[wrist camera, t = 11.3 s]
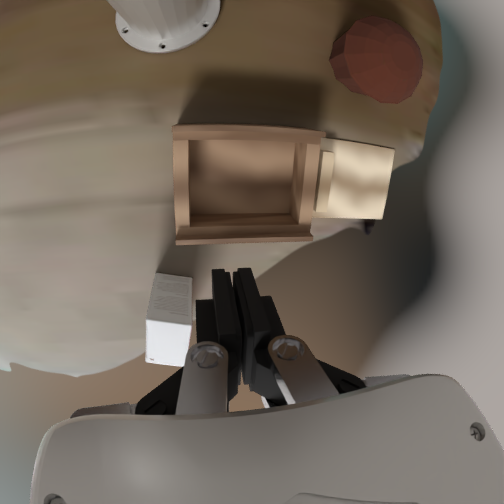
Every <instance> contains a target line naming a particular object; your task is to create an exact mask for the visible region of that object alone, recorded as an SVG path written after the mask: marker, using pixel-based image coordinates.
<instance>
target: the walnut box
mask: <svg viewBox="0 0 504 504" xmlns="http://www.w3.org/2000/svg"><path fill="white" fill-rule="evenodd" d="M172 132H173V179H174V206H175V225H176V240H175V241H176V245H197V244H228V243H261V242H298V241H313V236H312V234H311V233H310V228H311V221H312V213H313V206H314V198H315V190H316V181H317V173H318V164H319V154H320V144H321V137H326V132H323V131H318V130H313V129H308V128H299V127H288V126H275V125H258V124H228V123H201V124H176V125H174V126H172Z"/></svg>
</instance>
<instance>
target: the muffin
mask: <svg viewBox="0 0 504 504" xmlns="http://www.w3.org/2000/svg"><path fill="white" fill-rule="evenodd" d="M329 61H330V63H331V65H332V68H333V70H334V73H335V77H336V79H337V80H338V81H340V82H341V83H343V84H344V85H345V86H346V87H347V88H348V89H349V90H350V91H351V92H356V93H360V94H364V95H368V96H370V97H372V98H374V99H376V100H377V101H379V102H380V103H395V104H398V103H400V102H401V101H403V100H405V99H407V98H409V97H410V96H411V95H412V94H413V92H414V90H415V89H416V87H417V85H418V83H419V81H420V79H421V76H422V68H423V59H422V55H421V51H420V48H419V46H418V44H417V43H416V41H415V40H414V38H413V37H412V35H411V34H410V33H409V32H408V31H407V30H405V29H404V28H403V27H401V26H400V25H398V24H397V23H396V22H393V21H391V20H389V19H386V18H381V17H377V16H369V17H366V18H362V19H359V20H356V22H355V23H354V24H353V26H352V27H351V28H350V29H349V30H348V31H347V32H346V33H345V34H344V35H342V36H341V37H340V38H339V39H338V40H337V41H335V42H334V43H333V49H332V53H331V56H330V59H329Z"/></svg>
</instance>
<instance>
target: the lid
mask: <svg viewBox="0 0 504 504" xmlns="http://www.w3.org/2000/svg"><path fill="white" fill-rule="evenodd" d="M394 151H395V150H394V149H389V148H384V147H379V146H373V145H368V144H362V143H356V142H350V141H343V140H336V139H329V138H321V144H320V154H319V164H318V173H317V181H316V190H315V198H314V206H313V213H312V217H321V218H362V219H382V216H383V211H384V207H385V202H386V197H387V192H388V187H389V181H390V176H391V170H392V164H393V158H394Z"/></svg>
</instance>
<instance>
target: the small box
mask: <svg viewBox="0 0 504 504" xmlns="http://www.w3.org/2000/svg"><path fill="white" fill-rule="evenodd" d="M191 331H192V278H190V277H183V276H176V275H169V274H162V273H156V274H155V278H154V282H153V287H152V292H151V296H150V301H149V306H148V310H147V315H146V359H145V361H146V362H150V363H156V364H164V365H172V366H182V367H183V366H184V364H185V358H186V354H187V352H188V350H189V344H190V337H191Z"/></svg>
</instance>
